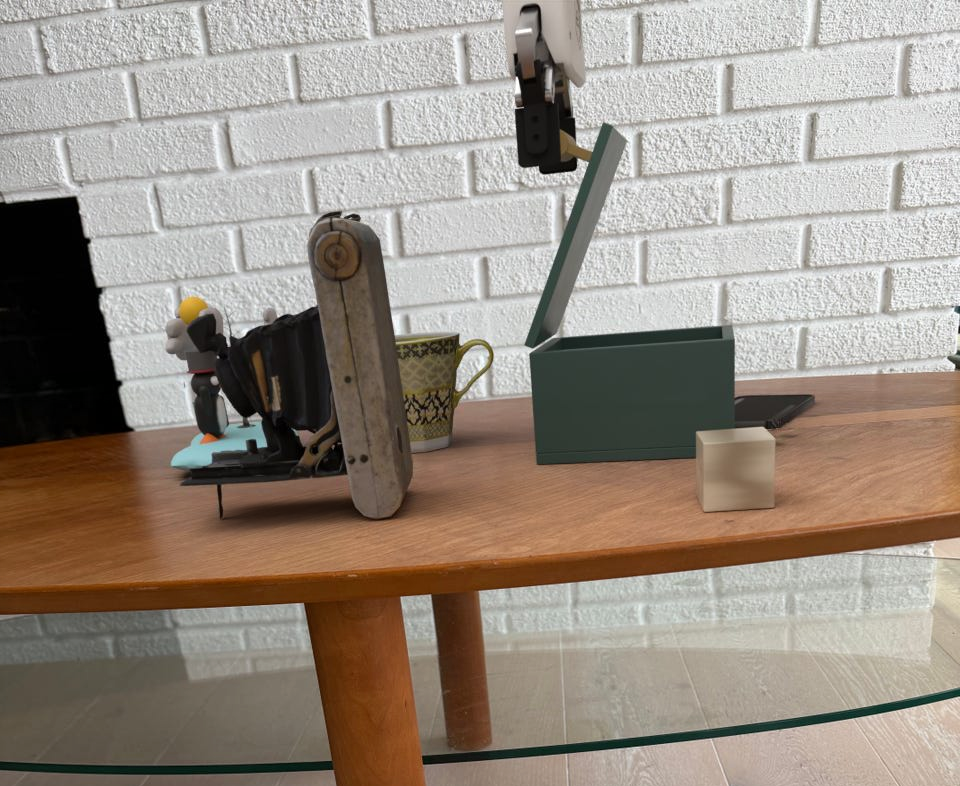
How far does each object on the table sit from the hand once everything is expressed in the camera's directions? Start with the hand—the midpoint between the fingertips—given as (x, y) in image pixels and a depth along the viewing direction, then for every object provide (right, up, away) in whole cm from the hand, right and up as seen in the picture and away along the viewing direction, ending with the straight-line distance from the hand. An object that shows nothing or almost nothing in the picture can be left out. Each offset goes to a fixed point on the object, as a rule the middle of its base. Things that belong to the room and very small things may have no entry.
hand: (549, 169), depth 80 cm
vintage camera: (-18, -28, -6) cm, 34 cm away
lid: (+3, -5, +1) cm, 6 cm away
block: (+11, -29, -15) cm, 34 cm away
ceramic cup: (-10, -19, +15) cm, 27 cm away
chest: (+8, -21, +6) cm, 23 cm away
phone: (+21, -17, +16) cm, 31 cm away
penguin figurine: (-29, -20, +17) cm, 39 cm away
